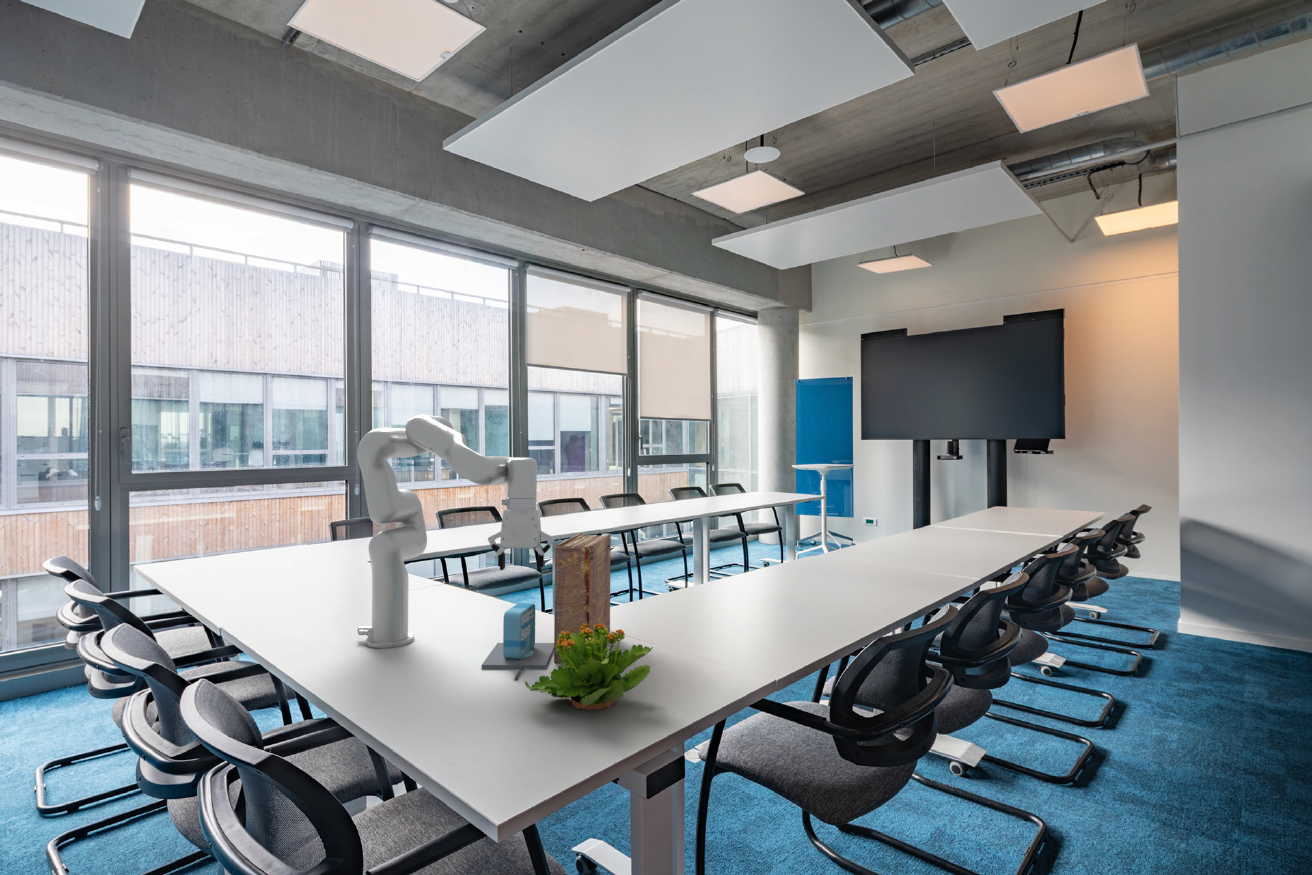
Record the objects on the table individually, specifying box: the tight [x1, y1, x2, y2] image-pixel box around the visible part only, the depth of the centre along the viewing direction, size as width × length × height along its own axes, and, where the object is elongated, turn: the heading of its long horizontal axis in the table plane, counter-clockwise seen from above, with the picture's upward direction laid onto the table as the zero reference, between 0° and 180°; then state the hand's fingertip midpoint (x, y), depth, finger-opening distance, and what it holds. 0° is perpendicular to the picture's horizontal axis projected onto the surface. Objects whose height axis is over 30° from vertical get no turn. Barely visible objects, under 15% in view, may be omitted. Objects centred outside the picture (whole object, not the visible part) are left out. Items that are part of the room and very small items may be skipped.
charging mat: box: [481, 642, 554, 681], centre depth 169 cm, size 16×26×1 cm, turn 1°
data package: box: [502, 602, 536, 659], centre depth 173 cm, size 12×4×12 cm, turn 172°
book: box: [553, 532, 612, 664], centre depth 180 cm, size 25×9×30 cm, turn 172°
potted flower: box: [524, 623, 654, 711], centre depth 144 cm, size 25×24×18 cm
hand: (520, 569), depth 173 cm, fingers open, 9 cm apart
